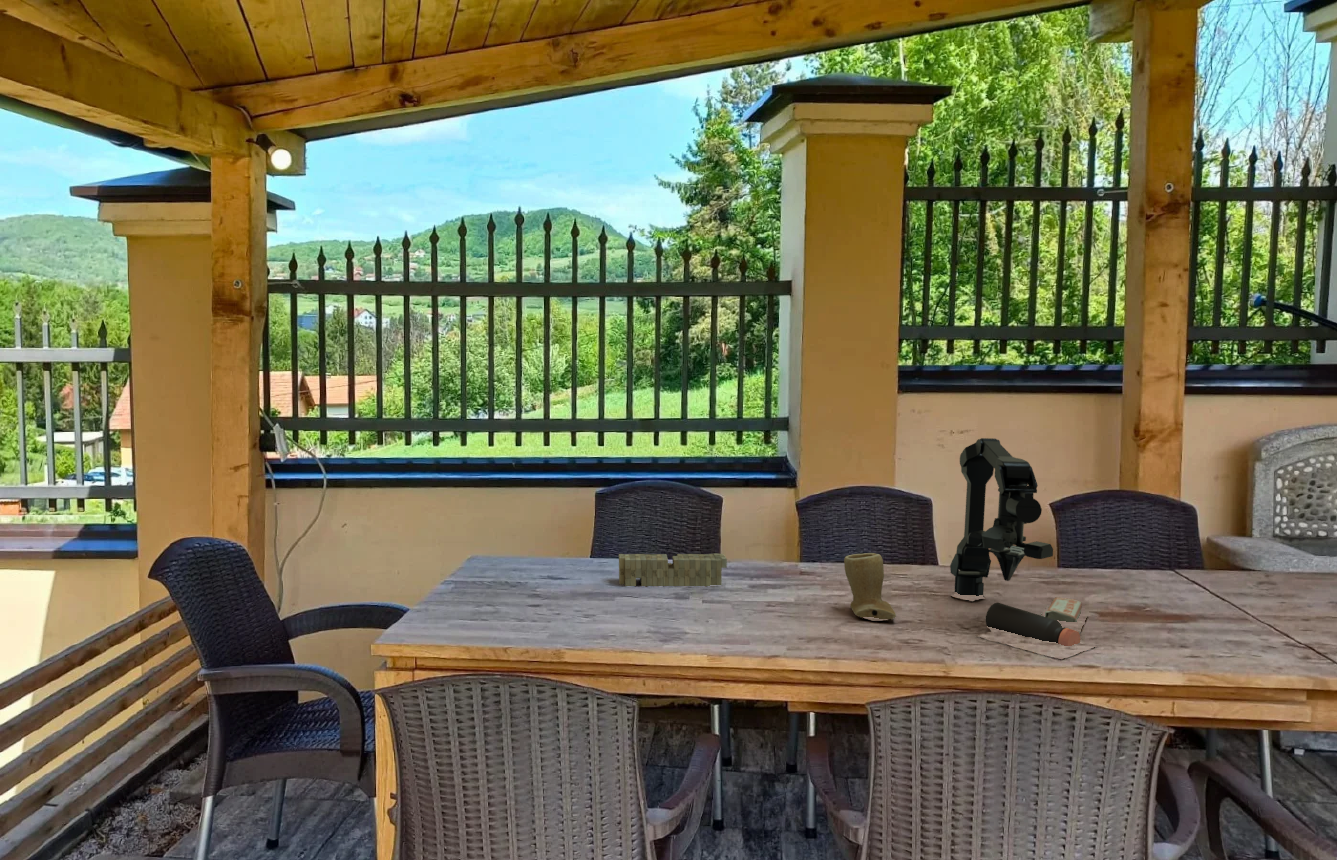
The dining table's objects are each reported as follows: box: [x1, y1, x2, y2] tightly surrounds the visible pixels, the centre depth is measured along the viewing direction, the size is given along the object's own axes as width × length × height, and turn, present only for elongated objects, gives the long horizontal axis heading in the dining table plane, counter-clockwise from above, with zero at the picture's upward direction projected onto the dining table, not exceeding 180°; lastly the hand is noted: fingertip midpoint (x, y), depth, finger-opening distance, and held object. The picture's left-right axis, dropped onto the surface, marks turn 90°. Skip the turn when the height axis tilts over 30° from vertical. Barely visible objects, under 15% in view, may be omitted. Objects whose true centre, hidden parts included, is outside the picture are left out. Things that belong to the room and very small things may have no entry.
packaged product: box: [1045, 596, 1083, 622], centre depth 220 cm, size 18×5×10 cm
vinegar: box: [985, 602, 1081, 646], centre depth 203 cm, size 7×7×20 cm
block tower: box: [618, 552, 728, 587], centre depth 249 cm, size 8×8×29 cm
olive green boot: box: [843, 552, 897, 620], centre depth 222 cm, size 15×12×15 cm
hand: (1007, 580), depth 212 cm, fingers closed
